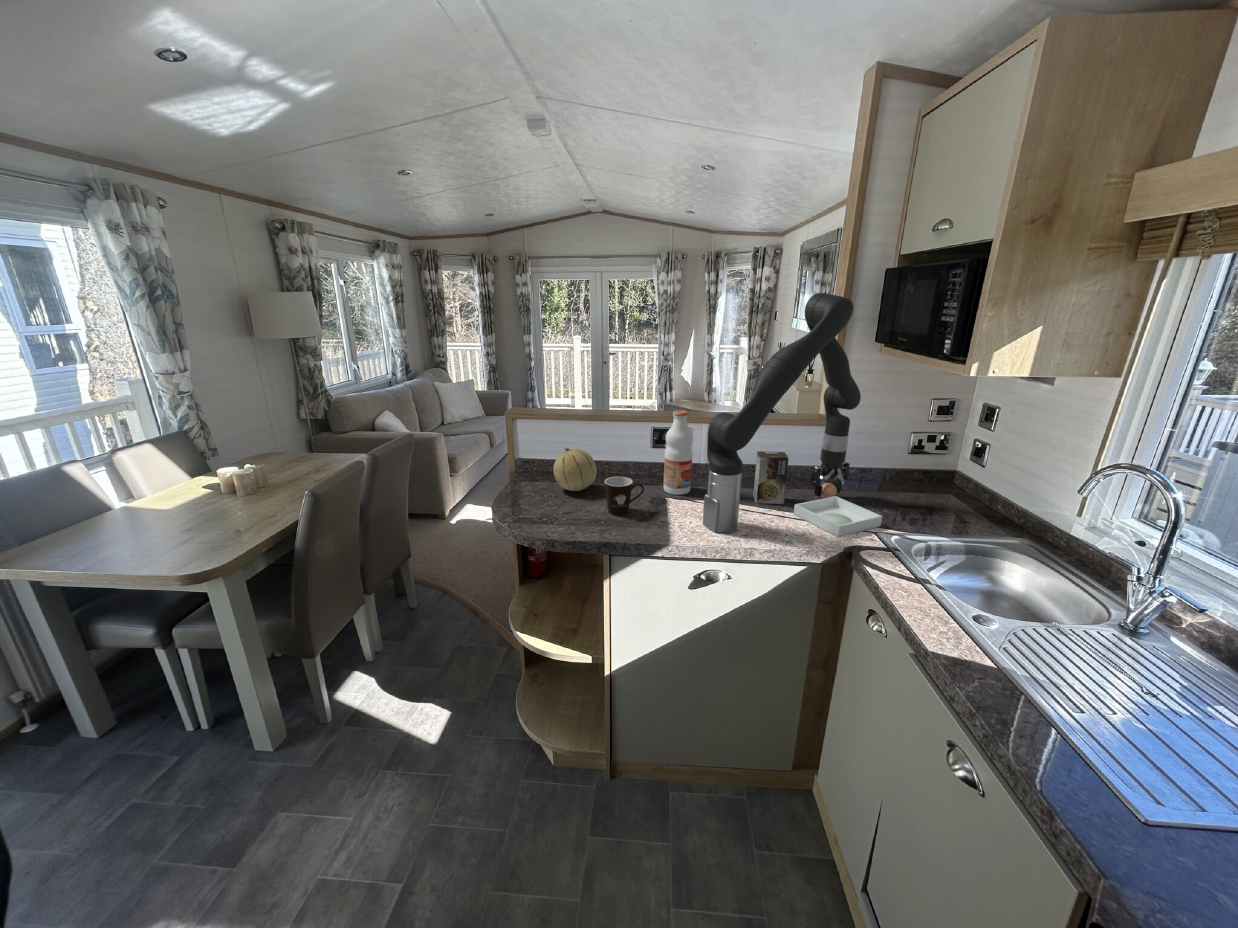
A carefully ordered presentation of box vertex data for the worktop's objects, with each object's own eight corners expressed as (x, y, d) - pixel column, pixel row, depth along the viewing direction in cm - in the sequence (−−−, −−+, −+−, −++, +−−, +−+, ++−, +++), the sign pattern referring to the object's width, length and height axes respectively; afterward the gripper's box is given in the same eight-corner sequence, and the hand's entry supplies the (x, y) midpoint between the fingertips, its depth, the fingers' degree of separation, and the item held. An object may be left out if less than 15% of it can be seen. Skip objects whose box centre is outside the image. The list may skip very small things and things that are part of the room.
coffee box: (779, 497, 168) (785, 451, 163) (784, 504, 162) (789, 457, 157) (752, 496, 169) (756, 450, 164) (755, 503, 163) (760, 456, 158)
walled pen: (837, 537, 139) (839, 526, 138) (793, 514, 154) (794, 504, 153) (880, 526, 146) (882, 516, 145) (834, 505, 161) (835, 496, 160)
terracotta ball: (826, 503, 163) (829, 487, 162) (814, 497, 168) (816, 482, 166) (839, 500, 166) (841, 484, 164) (826, 494, 170) (828, 479, 169)
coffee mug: (601, 515, 153) (601, 484, 150) (608, 504, 161) (608, 475, 158) (638, 519, 150) (639, 488, 147) (643, 508, 158) (644, 478, 155)
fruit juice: (666, 484, 179) (669, 407, 170) (692, 487, 176) (696, 409, 167) (660, 493, 170) (663, 413, 161) (688, 496, 168) (692, 415, 159)
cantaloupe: (598, 496, 167) (598, 454, 163) (554, 498, 165) (552, 455, 161) (594, 481, 181) (594, 441, 176) (553, 483, 179) (552, 443, 175)
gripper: (827, 453, 155) (820, 501, 160) (859, 448, 161) (851, 494, 166) (809, 447, 162) (802, 493, 167) (841, 442, 167) (834, 487, 172)
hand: (827, 494), depth 166 cm, fingers open, 8 cm apart
